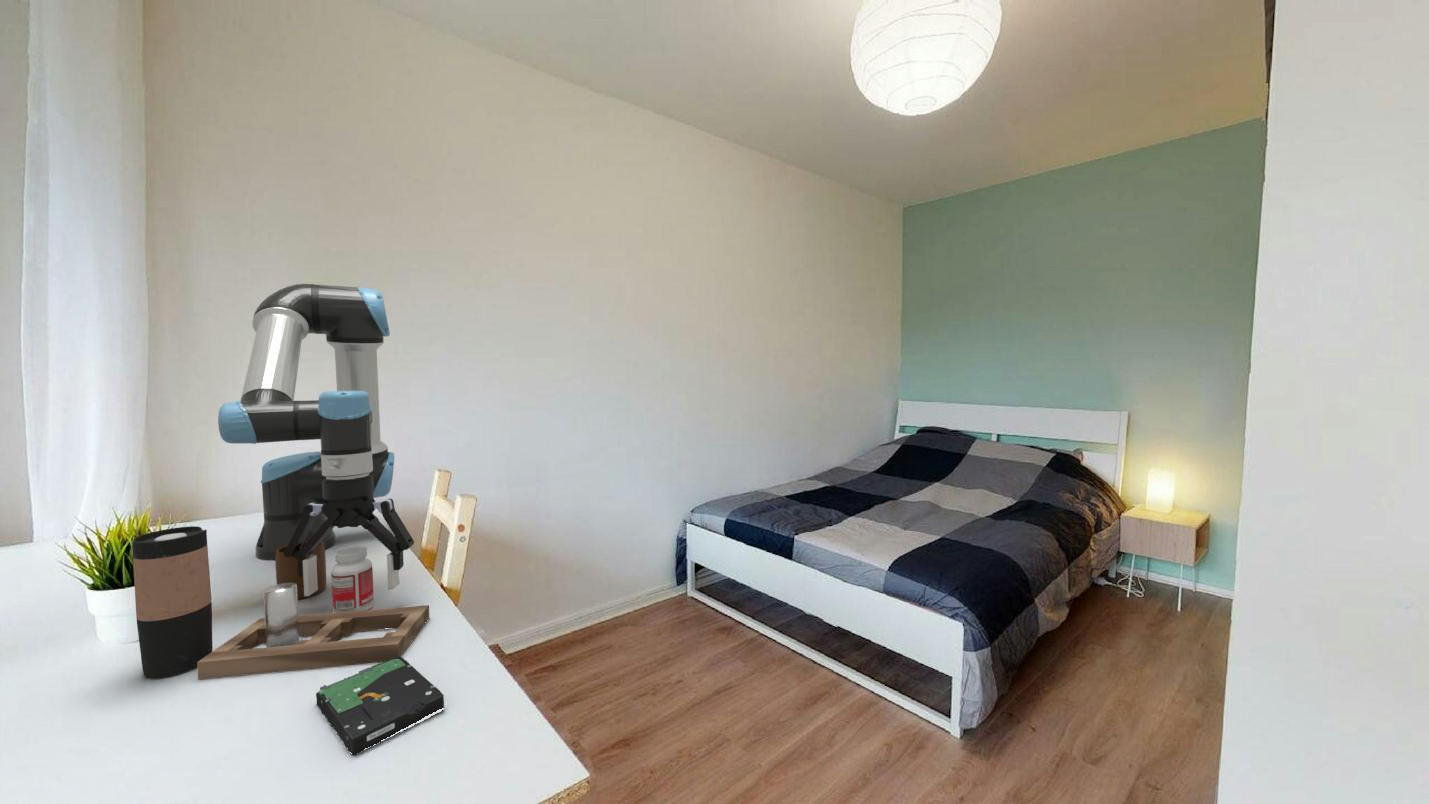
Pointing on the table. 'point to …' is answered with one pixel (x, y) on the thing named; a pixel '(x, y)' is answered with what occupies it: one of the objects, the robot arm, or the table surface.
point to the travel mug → (172, 600)
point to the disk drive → (378, 703)
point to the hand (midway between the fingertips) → (353, 590)
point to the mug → (289, 569)
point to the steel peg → (281, 615)
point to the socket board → (318, 643)
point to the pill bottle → (352, 581)
